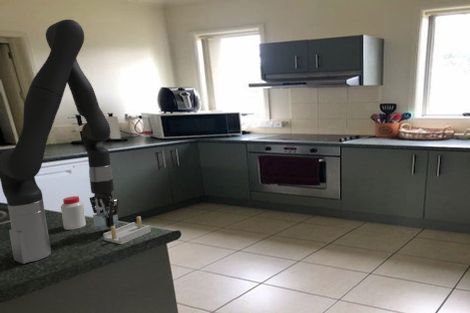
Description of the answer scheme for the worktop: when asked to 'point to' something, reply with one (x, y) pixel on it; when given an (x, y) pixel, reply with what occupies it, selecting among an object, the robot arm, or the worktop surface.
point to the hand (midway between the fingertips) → (106, 225)
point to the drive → (103, 221)
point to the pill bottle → (73, 213)
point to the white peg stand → (126, 232)
